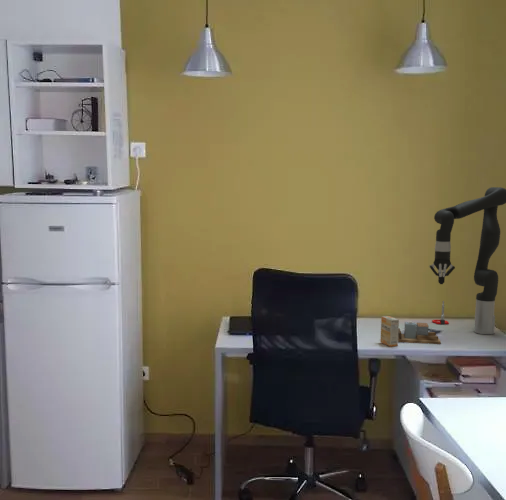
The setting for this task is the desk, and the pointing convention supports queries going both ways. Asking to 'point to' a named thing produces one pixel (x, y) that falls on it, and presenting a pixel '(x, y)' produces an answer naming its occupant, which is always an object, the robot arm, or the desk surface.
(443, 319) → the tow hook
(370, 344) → the desk surface
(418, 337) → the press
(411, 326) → the block
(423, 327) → the grey cube
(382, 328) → the supplement box
